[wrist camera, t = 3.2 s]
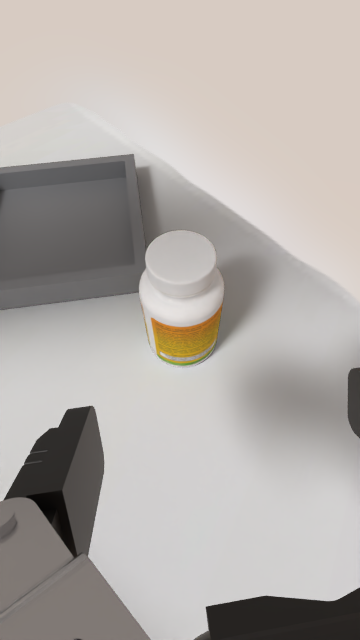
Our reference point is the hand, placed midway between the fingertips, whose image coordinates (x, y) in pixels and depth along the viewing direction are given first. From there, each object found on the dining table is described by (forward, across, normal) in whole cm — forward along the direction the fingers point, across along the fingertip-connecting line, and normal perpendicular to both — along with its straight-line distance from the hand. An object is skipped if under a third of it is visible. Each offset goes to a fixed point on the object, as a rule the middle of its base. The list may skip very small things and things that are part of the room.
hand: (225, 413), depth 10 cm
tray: (+25, +10, -7) cm, 28 cm away
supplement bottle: (+16, 0, +3) cm, 17 cm away
